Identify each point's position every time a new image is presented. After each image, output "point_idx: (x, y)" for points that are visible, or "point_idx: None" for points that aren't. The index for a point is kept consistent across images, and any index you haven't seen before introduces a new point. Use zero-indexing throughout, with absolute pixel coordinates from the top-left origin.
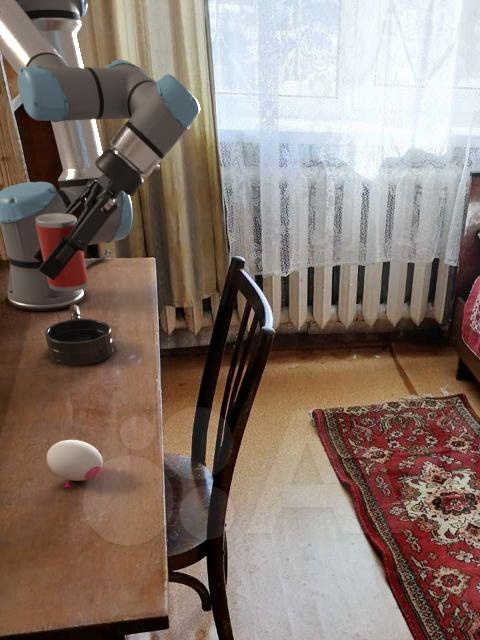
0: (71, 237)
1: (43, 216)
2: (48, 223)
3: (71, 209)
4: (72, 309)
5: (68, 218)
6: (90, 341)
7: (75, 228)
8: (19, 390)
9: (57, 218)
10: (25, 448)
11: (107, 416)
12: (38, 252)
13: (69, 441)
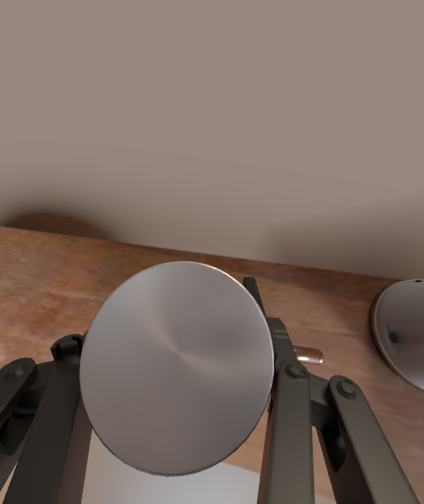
0: (8, 375)
1: (222, 299)
2: (105, 300)
3: (361, 488)
4: (298, 351)
5: (147, 418)
6: None
7: (33, 420)
8: (141, 255)
9: (167, 357)
10: (22, 242)
11: (27, 328)
12: (246, 287)
13: None
